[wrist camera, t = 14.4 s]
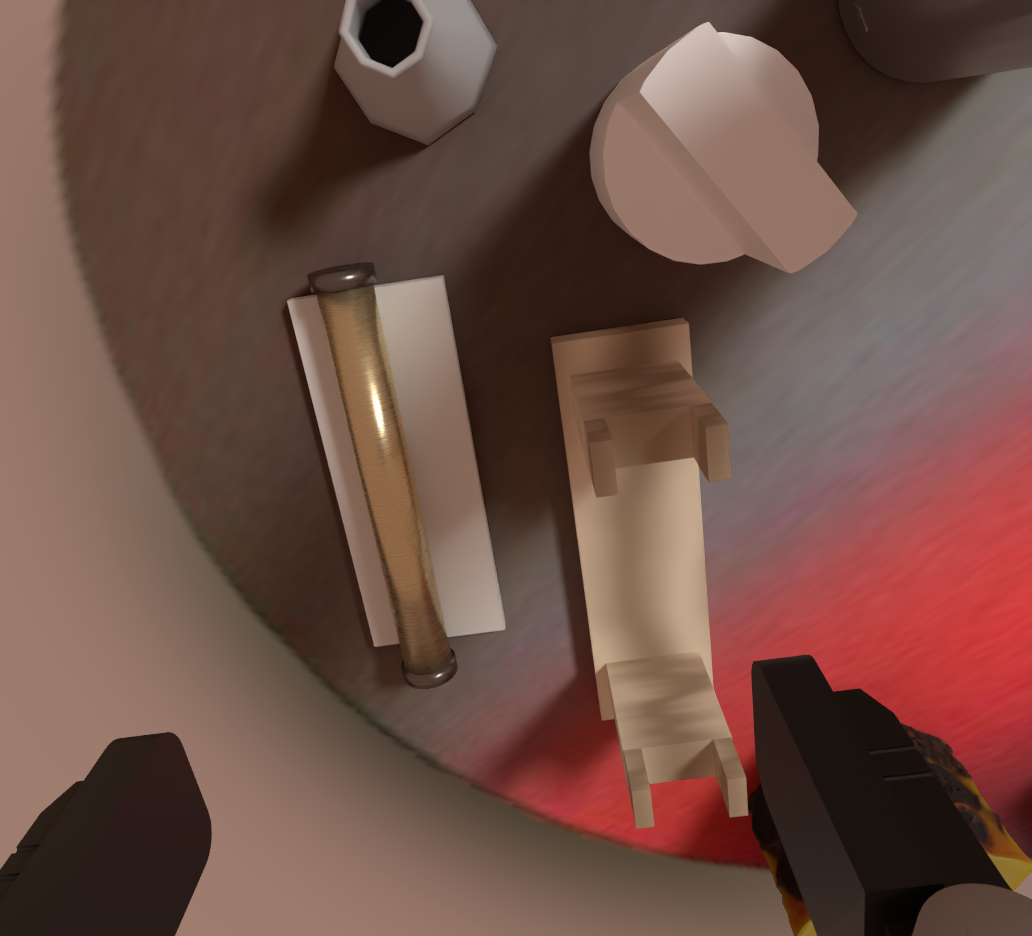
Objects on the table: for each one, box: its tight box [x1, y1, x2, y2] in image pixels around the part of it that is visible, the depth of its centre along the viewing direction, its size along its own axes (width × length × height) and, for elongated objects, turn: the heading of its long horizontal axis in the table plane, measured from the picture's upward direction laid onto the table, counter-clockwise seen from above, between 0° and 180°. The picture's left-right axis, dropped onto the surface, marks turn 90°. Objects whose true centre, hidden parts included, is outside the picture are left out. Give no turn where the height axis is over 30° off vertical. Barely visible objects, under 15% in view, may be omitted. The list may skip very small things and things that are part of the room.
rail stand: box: [551, 318, 748, 829], centre depth 41 cm, size 7×24×12 cm, turn 8°
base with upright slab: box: [589, 22, 858, 274], centre depth 33 cm, size 9×9×12 cm
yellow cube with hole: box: [748, 724, 1032, 936], centre depth 48 cm, size 10×10×10 cm
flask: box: [334, 0, 497, 145], centre depth 32 cm, size 7×7×10 cm
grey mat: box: [287, 275, 505, 647], centre depth 44 cm, size 8×21×1 cm, turn 8°
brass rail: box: [307, 263, 457, 689], centre depth 43 cm, size 24×3×3 cm, turn 8°
